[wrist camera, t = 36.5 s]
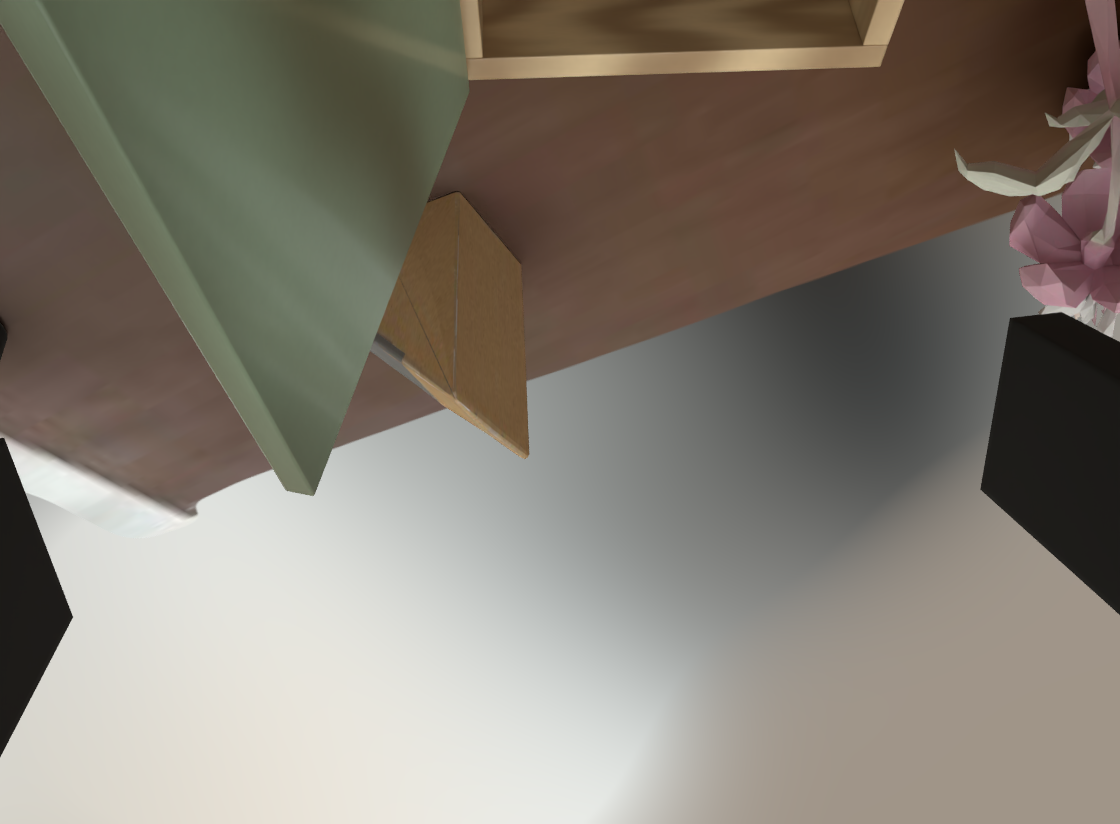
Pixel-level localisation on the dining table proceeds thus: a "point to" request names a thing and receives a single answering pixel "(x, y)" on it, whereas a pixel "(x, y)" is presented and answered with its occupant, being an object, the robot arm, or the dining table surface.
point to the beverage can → (2, 339)
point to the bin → (671, 36)
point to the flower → (1073, 193)
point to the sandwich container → (461, 321)
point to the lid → (261, 175)
